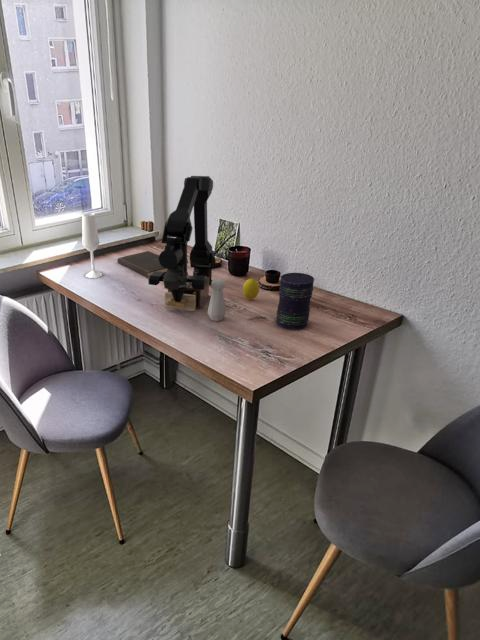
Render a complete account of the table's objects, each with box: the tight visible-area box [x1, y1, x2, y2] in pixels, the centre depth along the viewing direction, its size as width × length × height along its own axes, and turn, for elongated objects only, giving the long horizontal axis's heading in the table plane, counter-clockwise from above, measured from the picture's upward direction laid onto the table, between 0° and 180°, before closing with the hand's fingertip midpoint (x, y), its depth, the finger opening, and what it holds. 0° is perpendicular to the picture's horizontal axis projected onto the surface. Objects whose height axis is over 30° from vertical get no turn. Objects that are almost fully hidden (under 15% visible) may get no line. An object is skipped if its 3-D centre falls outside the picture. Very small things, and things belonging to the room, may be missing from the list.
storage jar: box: [275, 272, 315, 331], centre depth 155 cm, size 10×10×15 cm
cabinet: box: [167, 274, 210, 309], centre depth 176 cm, size 12×12×7 cm
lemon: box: [242, 277, 260, 301], centre depth 174 cm, size 6×6×8 cm
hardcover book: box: [117, 250, 167, 278], centre depth 210 cm, size 16×23×2 cm
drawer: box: [164, 290, 198, 312], centre depth 170 cm, size 15×10×5 cm
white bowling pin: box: [207, 278, 227, 322], centre depth 160 cm, size 6×6×13 cm
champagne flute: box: [81, 212, 103, 279], centre depth 197 cm, size 7×7×24 cm
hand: (178, 305), depth 166 cm, fingers closed, pressing on drawer
